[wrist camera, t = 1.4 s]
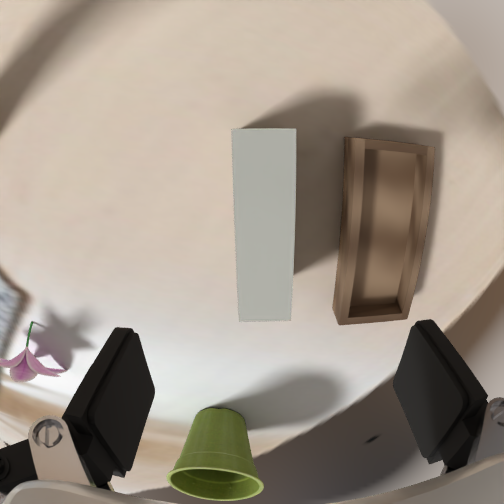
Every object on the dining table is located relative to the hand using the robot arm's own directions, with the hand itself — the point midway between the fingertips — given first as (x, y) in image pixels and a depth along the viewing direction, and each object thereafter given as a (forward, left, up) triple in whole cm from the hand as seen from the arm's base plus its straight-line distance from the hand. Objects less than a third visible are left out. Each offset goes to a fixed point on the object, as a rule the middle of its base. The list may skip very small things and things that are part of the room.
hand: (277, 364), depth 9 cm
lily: (+18, -32, -19) cm, 41 cm away
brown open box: (+2, +11, -19) cm, 22 cm away
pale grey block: (0, 0, -19) cm, 19 cm away
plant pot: (+30, -6, -19) cm, 36 cm away
